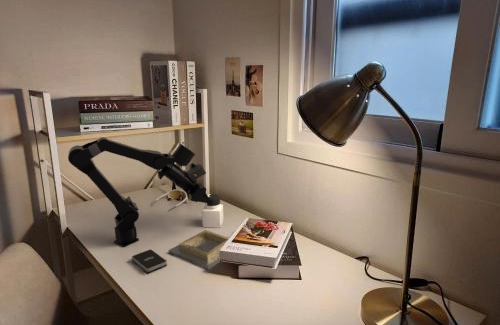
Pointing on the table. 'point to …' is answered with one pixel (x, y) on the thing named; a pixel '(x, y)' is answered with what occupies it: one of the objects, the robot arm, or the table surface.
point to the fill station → (201, 249)
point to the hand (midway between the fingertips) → (207, 198)
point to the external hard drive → (149, 261)
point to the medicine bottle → (213, 212)
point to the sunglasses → (175, 196)
